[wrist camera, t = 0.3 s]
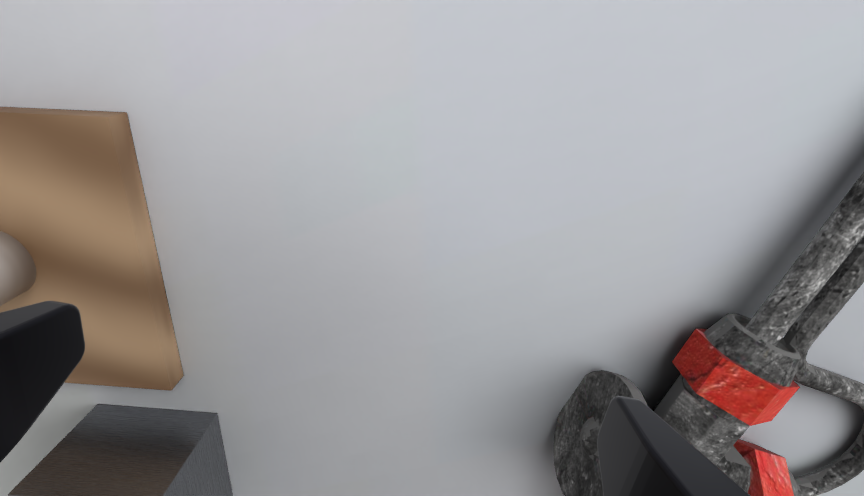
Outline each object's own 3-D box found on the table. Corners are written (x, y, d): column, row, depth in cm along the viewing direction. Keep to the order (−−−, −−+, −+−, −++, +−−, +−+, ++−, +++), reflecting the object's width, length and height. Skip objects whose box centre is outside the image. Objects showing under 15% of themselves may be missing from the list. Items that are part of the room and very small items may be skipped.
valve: (711, 525, 32) (505, 475, 28) (1050, 155, 22) (807, 11, 19) (784, 638, 26) (537, 593, 22) (1280, 202, 17) (993, 7, 13)
